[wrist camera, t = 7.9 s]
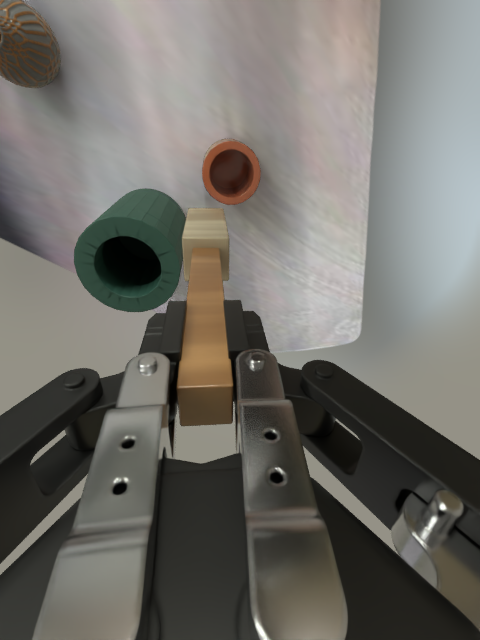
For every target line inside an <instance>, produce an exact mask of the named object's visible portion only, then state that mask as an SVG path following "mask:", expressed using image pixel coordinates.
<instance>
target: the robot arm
mask: <svg viewBox="0 0 480 640" xmlns="http://www.w3.org/2000/svg"><path fill="white" fill-rule="evenodd" d="M223 305H224V316H225V327H226V337H227V348H228V359H230V360H231V366H232V376H233V402H234V403H235V437H236V438H235V440H236V454H233V455H230V456H227V457H224V458H220V459H217V460H214V461H210V462H207V463H203V464H199V463H193V462H187V461H182V460H176V459H175V443H176V441H175V440H176V414H177V406H178V398H177V379H178V370H179V362H180V361H181V355H182V346H183V336H184V327H185V318H186V309H187V301H169V302H168V306H167V311H166V313H156V314H155V315H154V316H153V317H152V318H151V319H149V321H148V324H147V328H146V331H145V336H144V338H143V341H142V344H141V348H140V351H139V354H138V356H136V357H134V358H132V359H131V360H130V361H129V362H128V363H127V366H126V369H125V371H124V372H122V373H119V374H116V375H112V376H108V377H104V378H100V377H99V374H98V373H97V372H96V371H94V370H92V369H87V368H80V369H74V370H70V371H68V372H65V373H63V374H61V375H60V376H58V377H57V378H55V379H54V380H52V381H51V382H49V383H48V384H46V385H45V386H44V387H42V388H41V389H39V390H38V391H36V392H35V393H33V394H32V395H30V396H29V397H27V398H26V399H24V400H23V401H21V402H20V403H18V404H17V405H15V406H14V407H12V408H11V409H10V410H8V411H7V412H5V413H4V414H2V415H1V416H0V564H1V562H2V561H3V560H4V559H5V558H6V557H7V556H8V555H9V554H10V553H11V552H12V551H13V550H14V549H15V548H16V547H17V546H18V545H19V544H20V543H21V542H22V541H23V540H24V539H25V538H26V537H27V536H28V535H29V534H30V533H31V532H32V530H34V529H35V527H36V526H37V525H38V524H39V523H40V522H41V521H42V520H43V519H44V518H45V517H46V516H47V515H48V514H49V513H50V512H51V511H52V510H53V509H54V508H55V507H56V506H57V505H58V504H59V503H60V502H61V500H63V499H64V498H65V497H66V496H67V495H68V493H69V492H70V491H71V490H72V489H73V488H74V487H75V486H76V485H77V484H78V483H79V482H80V481H81V480H82V479H83V478H84V477H85V476H86V475H87V474H88V475H87V479H86V483H85V486H84V490H83V493H82V496H81V498H80V499H79V500H78V501H77V502H76V503H75V504H74V505H73V506H72V507H71V508H70V509H69V510H67V511H66V512H65V513H64V514H63V515H62V516H61V517H60V519H58V520H57V521H56V522H55V523H54V524H53V525H52V526H51V527H50V528H49V529H48V530H47V531H46V532H45V533H44V534H43V535H42V536H41V537H39V538H38V539H37V540H36V541H35V542H34V543H33V544H32V545H31V546H30V547H29V548H28V549H27V550H26V551H25V552H24V553H23V554H22V555H21V556H20V557H19V558H18V559H17V560H16V561H14V563H12V564H11V566H9V567H8V568H7V569H6V570H5V571H4V572H3V573H2V574H1V575H0V640H480V460H479V459H477V458H475V457H474V456H473V455H471V454H470V453H468V452H467V451H465V450H464V449H462V448H461V447H459V446H458V445H456V444H454V443H453V442H452V441H450V440H449V439H447V438H446V437H444V436H443V435H441V434H440V433H438V432H436V431H435V430H434V429H432V428H430V427H429V426H428V425H426V424H424V423H423V422H422V421H420V420H419V419H417V418H416V417H414V416H413V415H411V414H410V413H408V412H406V411H405V410H404V409H402V408H401V407H399V406H397V405H396V404H394V403H393V402H391V401H390V400H388V399H387V398H385V397H384V396H382V395H381V394H379V393H378V392H376V391H375V390H373V389H372V388H370V387H369V386H367V385H366V384H364V383H363V382H361V381H360V380H358V379H357V378H355V377H354V376H352V375H351V374H349V373H348V372H346V371H345V370H343V369H342V368H340V367H339V366H337V365H335V364H333V363H331V362H328V361H324V360H313V361H310V362H307V363H306V364H305V365H304V366H303V367H302V370H299V369H294V368H289V367H286V366H283V365H281V364H279V363H278V362H277V359H276V357H275V356H274V355H273V354H271V353H270V351H269V348H268V344H267V340H266V337H265V333H264V330H263V326H262V322H261V319H260V317H259V316H258V315H257V314H256V313H255V312H254V311H243V309H242V304H241V300H224V301H223ZM335 419H338V420H339V421H340V422H341V423H343V424H344V425H345V426H346V427H348V428H349V429H350V430H351V431H353V432H354V433H355V434H356V435H357V436H358V438H359V439H360V440H358V439H357V438H356V437H355V436H354V435H352V434H351V433H350V432H349V431H347V430H346V429H345V428H344V427H343V426H341V425H340V424H339V423H338V422H336V421H335ZM63 430H65V432H66V435H65V436H64V437H63V438H62V439H61V440H60V441H58V442H57V443H56V444H55V445H54V446H53V447H51V448H50V449H49V450H48V451H47V452H45V453H44V454H43V455H42V456H41V457H40V458H39V459H37V460H36V461H35V462H34V463H33V464H31V465H30V463H31V460H32V459H33V457H34V456H35V454H36V453H37V452H38V451H39V450H40V449H42V448H43V447H44V446H45V445H46V444H48V443H49V442H50V441H51V440H52V439H54V438H55V437H56V436H57V435H58V434H59V433H61V432H62V431H63ZM303 446H304V447H305V448H306V449H307V450H308V451H309V452H310V453H311V454H312V455H313V456H314V457H315V458H316V459H317V460H318V461H319V462H320V463H321V464H322V465H323V466H325V467H326V468H327V469H328V470H329V471H330V472H331V473H332V474H333V475H334V476H335V477H336V478H337V479H338V480H339V481H340V482H341V483H342V484H343V485H344V486H345V487H346V488H347V489H348V490H349V491H350V492H351V493H352V494H354V496H356V497H357V498H358V499H359V500H360V501H361V502H362V503H363V504H364V505H365V506H366V507H367V508H368V509H369V510H370V511H371V512H372V513H373V514H374V515H375V516H376V517H377V518H378V519H379V520H380V521H381V522H382V523H383V524H384V525H385V526H386V527H388V528H389V529H390V530H391V535H392V541H393V544H394V546H395V548H396V550H397V552H398V554H399V555H400V556H399V555H398V554H396V552H394V551H393V550H392V549H391V548H390V547H389V546H388V545H387V544H385V543H384V542H383V541H382V540H381V539H380V538H379V537H378V536H377V535H375V534H374V533H373V532H372V531H371V530H370V529H369V528H368V527H367V526H365V525H364V524H363V523H362V522H361V521H360V520H359V519H357V517H355V516H354V515H353V514H352V513H351V512H350V511H349V510H348V509H347V508H345V507H344V506H343V505H342V504H341V503H340V502H339V501H338V500H337V499H335V498H334V497H333V496H332V495H331V494H330V493H329V492H328V491H327V490H325V489H324V488H323V487H322V486H321V485H320V484H319V483H318V482H317V481H315V480H314V479H313V478H311V477H310V474H309V470H308V466H307V462H306V458H305V454H304V450H303Z"/></svg>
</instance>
